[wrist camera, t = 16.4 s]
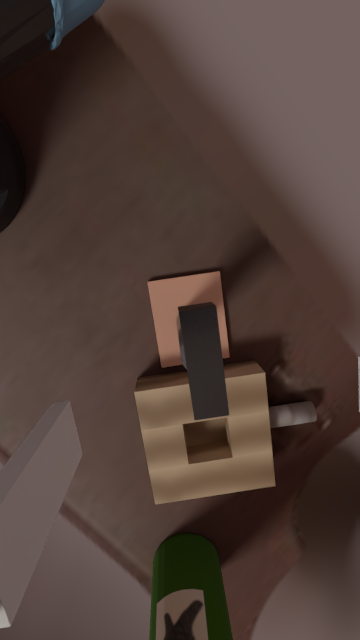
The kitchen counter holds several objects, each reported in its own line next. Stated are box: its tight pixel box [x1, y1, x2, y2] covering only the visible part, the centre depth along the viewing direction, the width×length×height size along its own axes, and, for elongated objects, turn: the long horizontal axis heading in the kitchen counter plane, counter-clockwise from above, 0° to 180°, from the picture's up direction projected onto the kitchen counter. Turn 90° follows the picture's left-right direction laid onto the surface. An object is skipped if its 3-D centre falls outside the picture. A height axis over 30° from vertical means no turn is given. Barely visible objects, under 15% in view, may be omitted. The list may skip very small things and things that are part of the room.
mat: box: [148, 271, 230, 368], centre depth 34 cm, size 10×8×1 cm
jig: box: [134, 360, 317, 504], centre depth 35 cm, size 14×20×4 cm
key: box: [176, 302, 229, 420], centre depth 27 cm, size 3×8×14 cm, turn 8°
